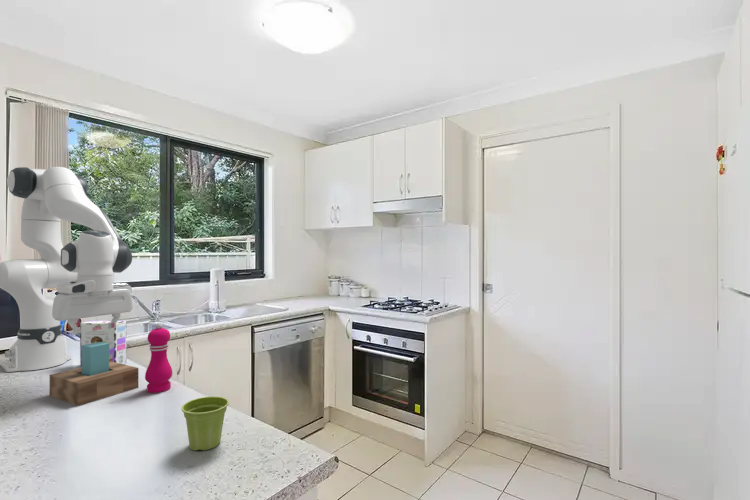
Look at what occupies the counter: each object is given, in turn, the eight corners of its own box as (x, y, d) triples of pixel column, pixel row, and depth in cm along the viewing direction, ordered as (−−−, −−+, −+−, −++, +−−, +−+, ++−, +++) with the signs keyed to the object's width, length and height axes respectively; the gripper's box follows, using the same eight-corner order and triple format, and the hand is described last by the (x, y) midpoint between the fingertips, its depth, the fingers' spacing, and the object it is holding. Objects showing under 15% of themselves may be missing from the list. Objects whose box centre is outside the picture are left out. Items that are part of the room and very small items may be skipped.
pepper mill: (160, 394, 112) (160, 325, 112) (139, 392, 114) (139, 324, 114) (177, 386, 119) (177, 321, 119) (157, 384, 121) (157, 320, 121)
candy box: (127, 364, 142) (127, 320, 142) (115, 369, 136) (115, 323, 136) (92, 363, 143) (92, 319, 143) (79, 368, 137) (79, 322, 138)
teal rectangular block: (81, 392, 114) (81, 345, 114) (99, 387, 118) (100, 341, 118) (90, 395, 111) (90, 347, 111) (108, 390, 116) (109, 343, 116)
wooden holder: (49, 395, 111) (49, 374, 111) (109, 379, 126) (109, 361, 126) (78, 405, 104) (78, 383, 104) (138, 387, 118) (138, 367, 118)
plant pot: (215, 430, 90) (215, 392, 90) (237, 442, 84) (237, 402, 84) (173, 445, 83) (173, 405, 83) (194, 460, 77) (194, 417, 77)
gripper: (125, 281, 126) (125, 324, 126) (49, 287, 108) (48, 336, 108) (137, 283, 123) (136, 326, 123) (60, 288, 105) (60, 339, 105)
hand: (95, 331), depth 115 cm, fingers open, 8 cm apart
